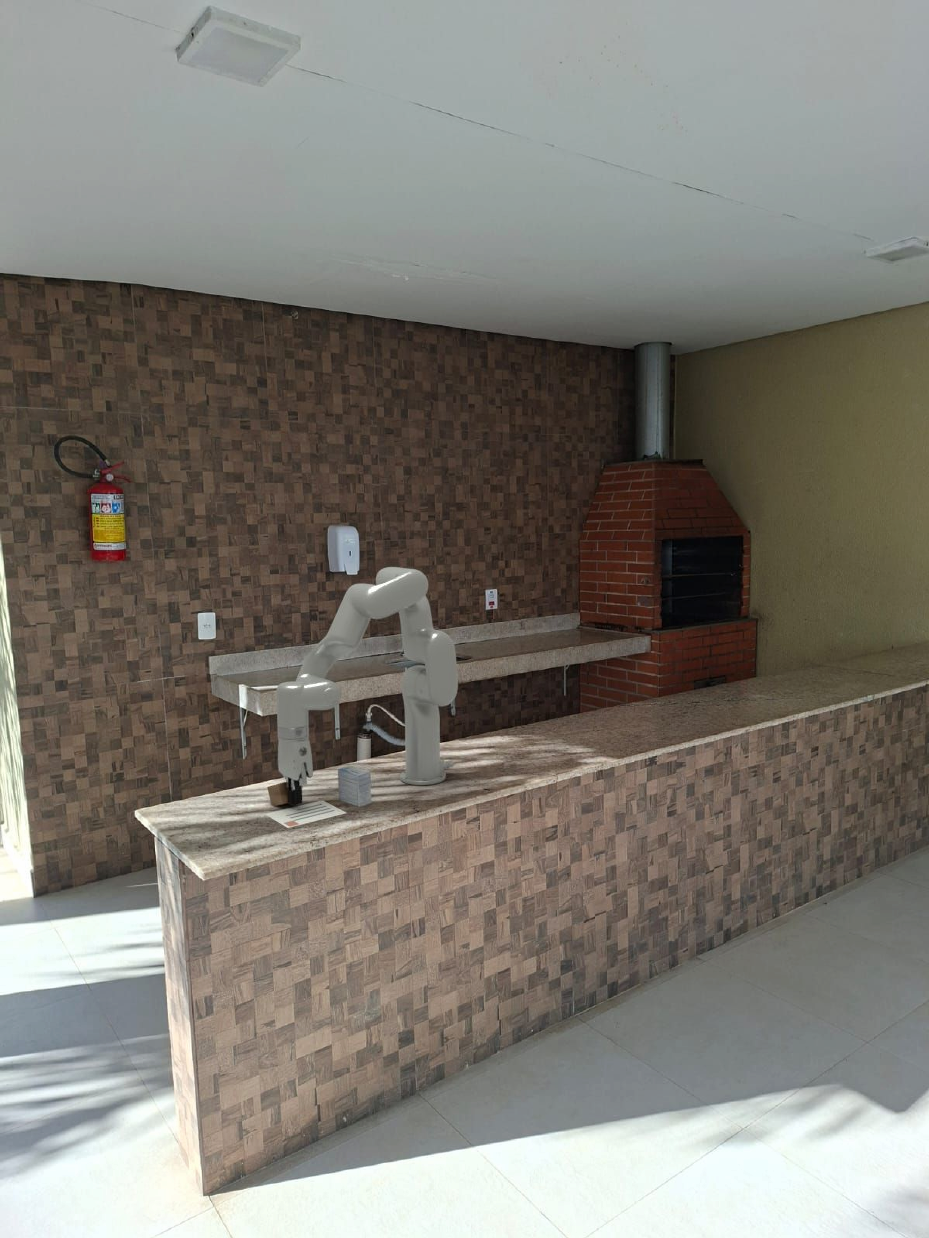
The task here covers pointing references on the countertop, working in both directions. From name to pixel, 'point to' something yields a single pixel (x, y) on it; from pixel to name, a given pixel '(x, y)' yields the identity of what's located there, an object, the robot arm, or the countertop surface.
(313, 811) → the letter
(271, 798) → the walnut block
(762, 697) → the countertop surface
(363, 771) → the medicine box
